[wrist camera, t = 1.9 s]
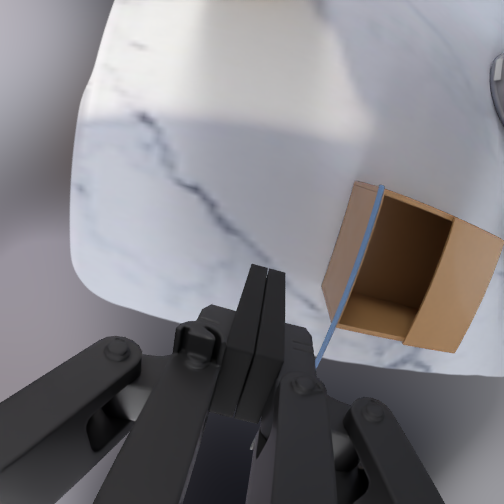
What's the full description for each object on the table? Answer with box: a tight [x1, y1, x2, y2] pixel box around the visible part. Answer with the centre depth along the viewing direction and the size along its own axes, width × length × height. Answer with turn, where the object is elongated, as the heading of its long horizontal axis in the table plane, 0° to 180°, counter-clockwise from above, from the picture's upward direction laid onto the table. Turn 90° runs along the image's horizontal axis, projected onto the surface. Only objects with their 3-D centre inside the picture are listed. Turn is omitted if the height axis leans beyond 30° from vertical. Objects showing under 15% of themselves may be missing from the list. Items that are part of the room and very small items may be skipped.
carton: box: [321, 181, 504, 353], centre depth 28 cm, size 15×13×10 cm
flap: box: [315, 185, 385, 368], centre depth 20 cm, size 7×13×1 cm
